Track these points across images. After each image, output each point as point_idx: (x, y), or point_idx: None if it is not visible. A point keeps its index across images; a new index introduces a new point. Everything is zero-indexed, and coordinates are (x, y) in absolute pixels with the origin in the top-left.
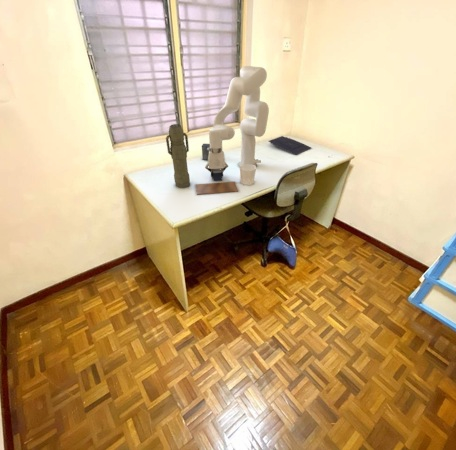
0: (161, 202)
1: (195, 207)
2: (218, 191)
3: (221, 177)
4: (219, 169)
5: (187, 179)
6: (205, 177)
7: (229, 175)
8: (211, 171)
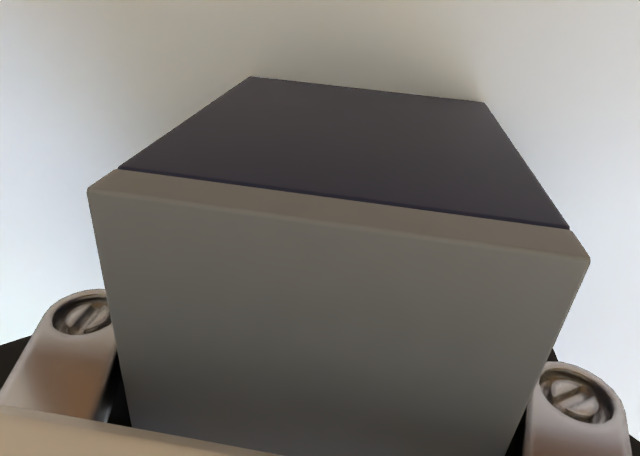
0: None
1: None
2: None
3: (223, 98)
4: (186, 431)
5: None
6: (611, 357)
7: (52, 282)
8: (574, 421)
